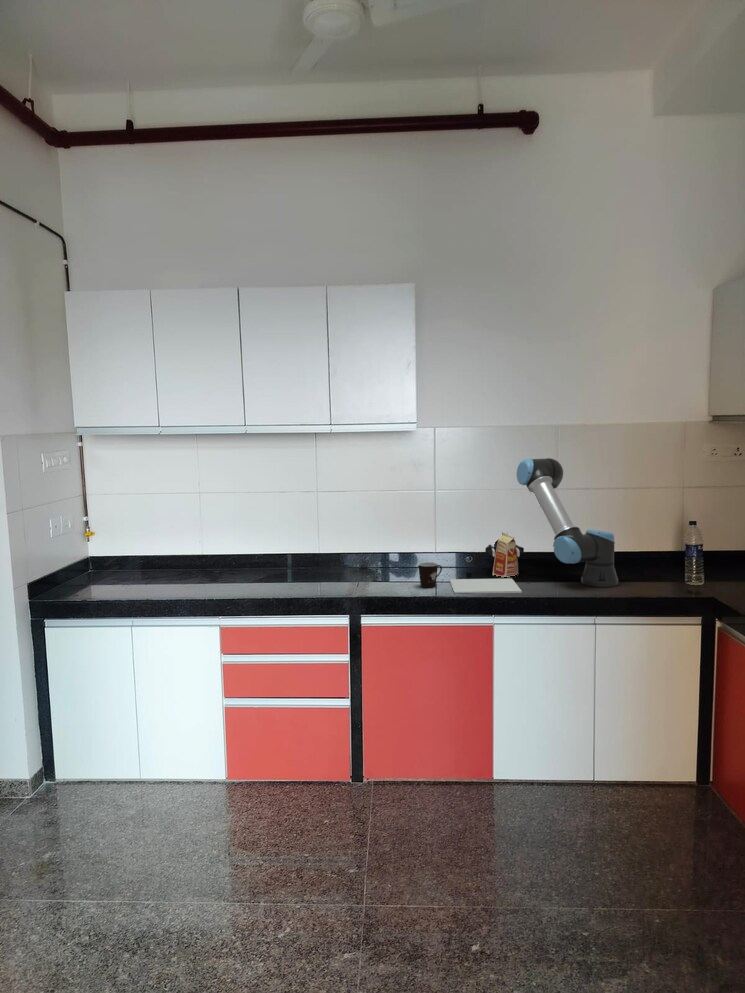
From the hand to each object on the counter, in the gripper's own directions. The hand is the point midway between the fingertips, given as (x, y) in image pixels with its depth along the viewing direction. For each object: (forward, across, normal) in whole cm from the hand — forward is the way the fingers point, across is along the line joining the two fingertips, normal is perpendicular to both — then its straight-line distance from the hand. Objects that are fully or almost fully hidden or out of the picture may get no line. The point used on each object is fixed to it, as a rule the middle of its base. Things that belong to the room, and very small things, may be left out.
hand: (506, 553), depth 295 cm
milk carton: (-4, 0, -11) cm, 12 cm away
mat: (+18, +11, -11) cm, 24 cm away
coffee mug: (+18, +34, -11) cm, 40 cm away
